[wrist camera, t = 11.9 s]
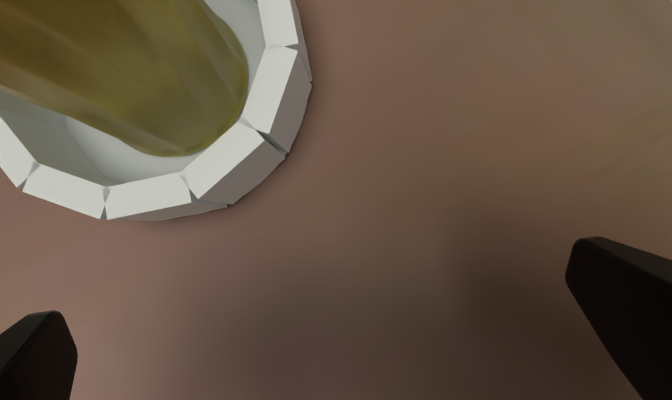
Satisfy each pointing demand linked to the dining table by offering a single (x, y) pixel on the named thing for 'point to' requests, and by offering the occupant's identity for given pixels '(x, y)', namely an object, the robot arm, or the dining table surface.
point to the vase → (127, 68)
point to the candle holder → (175, 171)
